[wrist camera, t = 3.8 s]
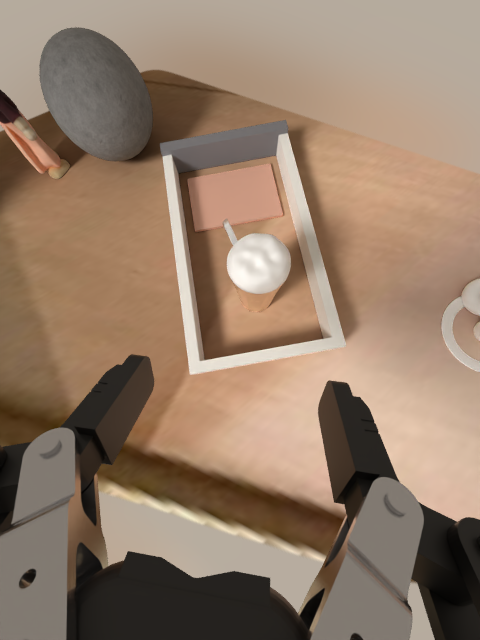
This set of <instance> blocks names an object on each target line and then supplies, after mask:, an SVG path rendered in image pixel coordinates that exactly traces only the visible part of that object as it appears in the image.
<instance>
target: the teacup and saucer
mask: <svg viewBox="0 0 480 640" xmlns="http://www.w3.org/2000/svg"><path fill="white" fill-rule="evenodd" d="M464 307H465V308H466V309H467V310H468V311H470V312H471V313H473V314H475V315H479V316H480V278H479V279H476V280H473V281H471V282H470V283H469V284H467V285H466V286H465V288H464V290H463V292H462V296H460V297H458V298H456V299H455V300H453V301H452V302H451V303H450V304H449V305H448V306H447V308H446V309H445V311H444V313H443V316H442V321H441V330H442V335H443V339H444V341H445V344H446V345H447V347H448V349H449V350H450V352H451V353H452V354H453V355H454V357H455V358H456V359H457V360H459V361H460V362H461V363H462V364H464V365H465V366H467V367H469V368H470V369H473V370H475V371H478V372H480V361H478V360H475V359H473V358H471V357H470V356H468V355H467V354H466V353H465V352H464V351H463V350H462V349H461V348H460V347H459V346H458V344H457V342H456V340H455V338H454V335H453V330H452V326H453V320H454V318H455V316H456V314H457V313H458V312H459V311H460V310H461V309H462V308H464ZM473 332H474V335H475V337H476V338H477V339H478V340H479V341H480V321H479V322H478V323H477V324H476V325H475V326H474V329H473Z"/></svg>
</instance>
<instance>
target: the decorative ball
mask: <svg viewBox="0 0 480 640" xmlns="http://www.w3.org/2000/svg"><path fill="white" fill-rule="evenodd" d="M40 83H41V88H42V91H43V95H44V99H45V101H46V103H47V106H48V108H49V110H50V112H51V114H52V116H53V118H54V119H55V121H56V122H57V124H58V125H59V127H60V128H61V129H62V131H63V132H64V133H65V134H66V135H67V136H68V137H69V139H70V140H72V141H73V142H74V143H75V144H76V145H77V146H79V147H80V148H81V149H83V150H84V151H86V152H87V153H89V154H91V155H93V156H95V157H98V158H100V159H104V160H108V161H124V160H128V159H131V158H133V157H134V156H136V155H138V154H139V153H140V152H141V151H142V150H143V149H144V147H145V146H146V144H147V142H148V140H149V138H150V135H151V131H152V125H153V111H152V104H151V99H150V96H149V93H148V90H147V87H146V85H145V82H144V80H143V78H142V76H141V74H140V72H139V71H138V69H137V68H136V66H135V65H134V63H133V62H132V61H131V60H130V58H129V57H128V56H127V54H126V53H125V52H124V51H123V50H122V49H121V48H120V47H118V46H117V45H116V44H115V43H114V42H113V41H111V40H110V39H108V38H106V37H105V36H103V35H101V34H99V33H97V32H95V31H92V30H89V29H85V28H67V29H64V30H61V31H60V32H58V33H56V34H55V35H54V36H52V37H51V39H50V40H49V41H48V42H47V44H46V45H45V47H44V49H43V52H42V55H41V60H40Z"/></svg>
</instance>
